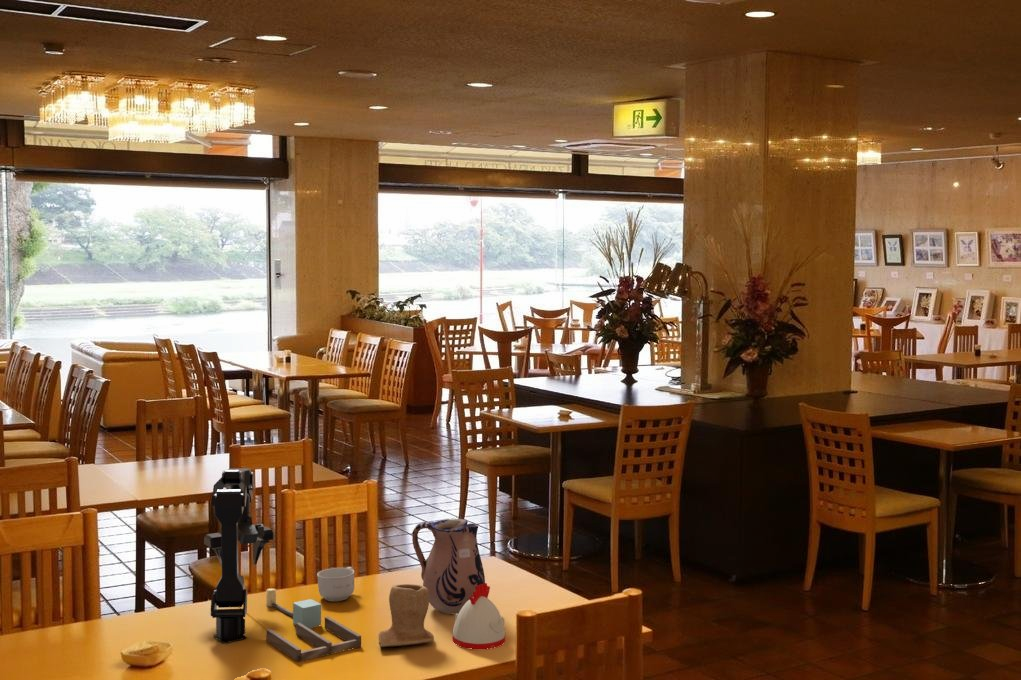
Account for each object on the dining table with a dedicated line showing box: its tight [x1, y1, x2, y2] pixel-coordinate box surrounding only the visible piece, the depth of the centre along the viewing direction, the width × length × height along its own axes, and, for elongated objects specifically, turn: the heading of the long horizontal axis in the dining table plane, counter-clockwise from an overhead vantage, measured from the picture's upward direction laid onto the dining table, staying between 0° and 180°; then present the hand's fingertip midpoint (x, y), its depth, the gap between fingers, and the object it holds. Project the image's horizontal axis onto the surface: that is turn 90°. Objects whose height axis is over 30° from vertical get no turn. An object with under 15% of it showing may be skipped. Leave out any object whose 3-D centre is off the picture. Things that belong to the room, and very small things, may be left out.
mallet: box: [265, 588, 322, 629], centre depth 310 cm, size 6×25×6 cm, turn 40°
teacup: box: [316, 566, 355, 602], centre depth 326 cm, size 14×11×8 cm
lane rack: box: [265, 616, 362, 663], centre depth 288 cm, size 18×18×3 cm
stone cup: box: [378, 583, 435, 648], centre depth 290 cm, size 15×12×15 cm
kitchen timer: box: [452, 582, 506, 650], centre depth 293 cm, size 14×14×15 cm
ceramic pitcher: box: [411, 518, 486, 615], centre depth 316 cm, size 18×21×25 cm
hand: (239, 566), depth 315 cm, fingers open, 9 cm apart
